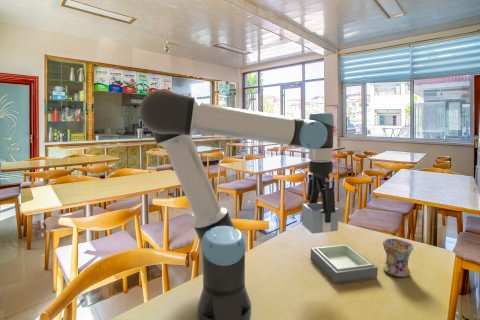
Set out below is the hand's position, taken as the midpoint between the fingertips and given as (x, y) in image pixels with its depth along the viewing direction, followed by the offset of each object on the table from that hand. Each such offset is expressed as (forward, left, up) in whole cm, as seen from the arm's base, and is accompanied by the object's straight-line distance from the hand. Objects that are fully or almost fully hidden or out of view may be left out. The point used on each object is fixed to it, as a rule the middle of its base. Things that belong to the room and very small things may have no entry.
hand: (319, 226), depth 99 cm
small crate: (0, 0, 0) cm, 0 cm away
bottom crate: (+11, +3, -18) cm, 21 cm away
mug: (+28, -3, -18) cm, 34 cm away
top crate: (+11, +3, -18) cm, 21 cm away
